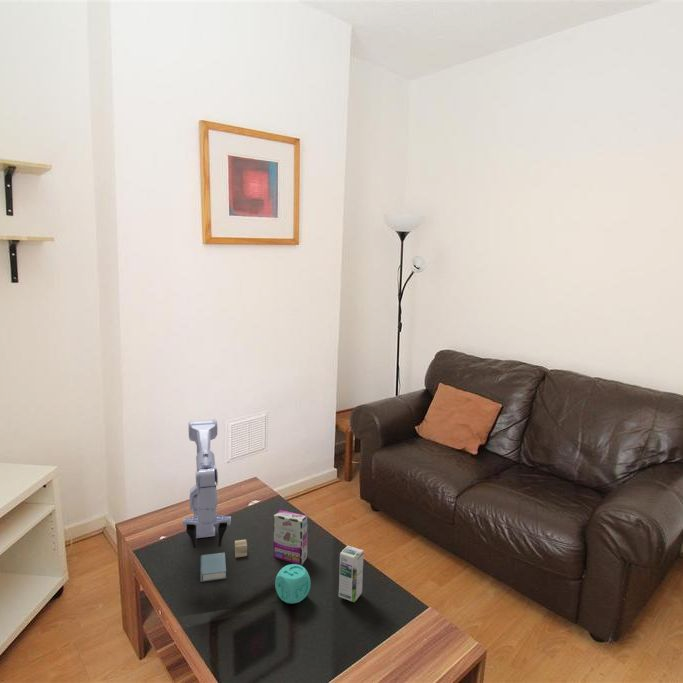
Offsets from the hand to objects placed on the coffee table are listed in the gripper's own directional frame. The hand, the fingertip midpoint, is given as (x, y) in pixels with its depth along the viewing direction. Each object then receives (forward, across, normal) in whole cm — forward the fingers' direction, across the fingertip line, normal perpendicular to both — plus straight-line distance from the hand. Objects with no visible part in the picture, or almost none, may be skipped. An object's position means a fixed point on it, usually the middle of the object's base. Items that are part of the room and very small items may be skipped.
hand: (207, 545), depth 154 cm
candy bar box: (+12, +27, +9) cm, 31 cm away
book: (+12, +1, +6) cm, 14 cm away
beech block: (+12, +10, +13) cm, 20 cm away
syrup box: (+12, +45, -12) cm, 48 cm away
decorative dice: (+12, +27, -10) cm, 31 cm away
